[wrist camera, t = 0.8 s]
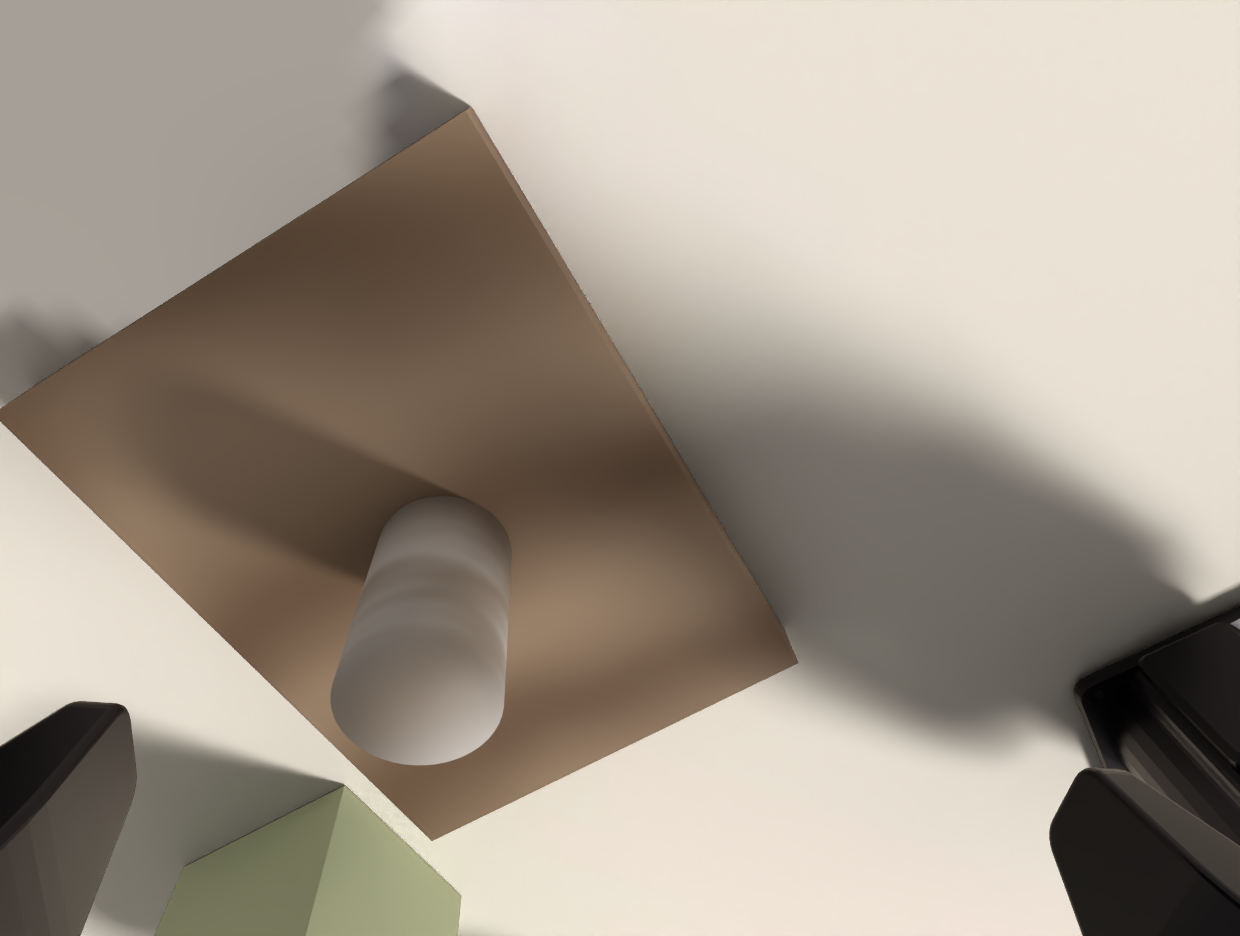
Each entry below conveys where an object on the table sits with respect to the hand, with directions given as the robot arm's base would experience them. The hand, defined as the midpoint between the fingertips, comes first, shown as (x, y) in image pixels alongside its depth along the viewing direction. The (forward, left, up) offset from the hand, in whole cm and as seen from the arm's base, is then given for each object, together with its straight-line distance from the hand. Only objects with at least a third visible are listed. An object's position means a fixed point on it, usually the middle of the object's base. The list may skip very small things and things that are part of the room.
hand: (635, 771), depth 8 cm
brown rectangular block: (-3, +5, -13) cm, 15 cm away
